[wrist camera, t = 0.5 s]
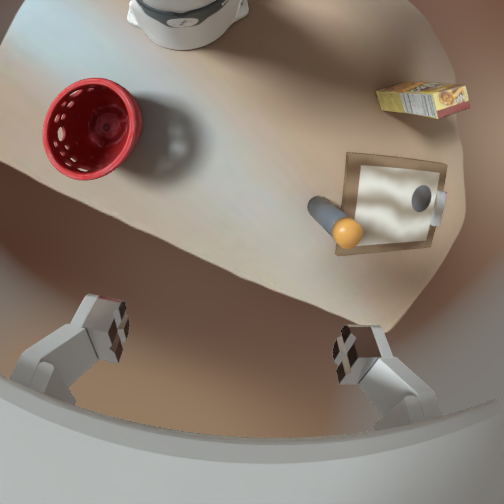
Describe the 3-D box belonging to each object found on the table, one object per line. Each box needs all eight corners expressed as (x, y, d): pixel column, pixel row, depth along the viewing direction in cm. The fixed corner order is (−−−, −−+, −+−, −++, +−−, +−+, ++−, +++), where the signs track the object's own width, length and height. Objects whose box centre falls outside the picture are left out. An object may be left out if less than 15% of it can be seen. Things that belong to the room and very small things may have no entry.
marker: (306, 194, 49) (339, 222, 38) (328, 194, 50) (364, 221, 39) (305, 217, 51) (335, 250, 40) (326, 216, 52) (360, 247, 40)
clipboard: (346, 152, 47) (353, 154, 45) (443, 163, 51) (451, 166, 49) (335, 253, 56) (340, 259, 54) (427, 244, 60) (433, 249, 58)
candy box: (407, 81, 41) (465, 83, 28) (413, 101, 43) (471, 108, 30) (374, 90, 42) (431, 92, 29) (381, 112, 44) (439, 120, 31)
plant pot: (118, 179, 42) (94, 202, 32) (62, 135, 37) (25, 146, 26) (168, 115, 39) (157, 116, 29) (109, 69, 34) (81, 58, 23)
